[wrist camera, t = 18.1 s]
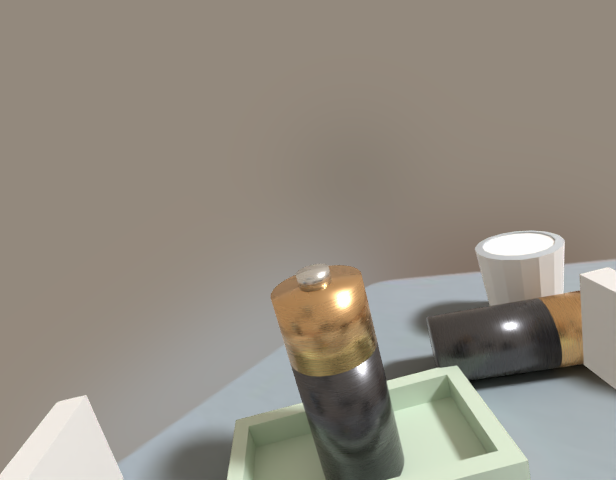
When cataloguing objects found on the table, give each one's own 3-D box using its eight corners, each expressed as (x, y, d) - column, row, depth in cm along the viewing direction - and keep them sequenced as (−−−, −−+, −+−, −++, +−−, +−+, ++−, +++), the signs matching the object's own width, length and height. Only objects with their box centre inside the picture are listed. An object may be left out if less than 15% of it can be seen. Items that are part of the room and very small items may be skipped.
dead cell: (446, 398, 30) (434, 338, 29) (433, 359, 35) (423, 305, 34) (642, 371, 28) (639, 304, 27) (600, 333, 33) (596, 275, 31)
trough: (232, 578, 22) (217, 541, 21) (246, 449, 30) (235, 420, 30) (533, 500, 22) (527, 460, 21) (460, 393, 30) (455, 362, 30)
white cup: (474, 307, 41) (463, 241, 39) (544, 292, 41) (537, 224, 39) (505, 343, 35) (494, 265, 33) (590, 325, 34) (583, 245, 32)
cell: (320, 502, 24) (257, 299, 20) (325, 436, 28) (275, 263, 25) (409, 492, 23) (358, 279, 19) (399, 426, 28) (357, 246, 24)
